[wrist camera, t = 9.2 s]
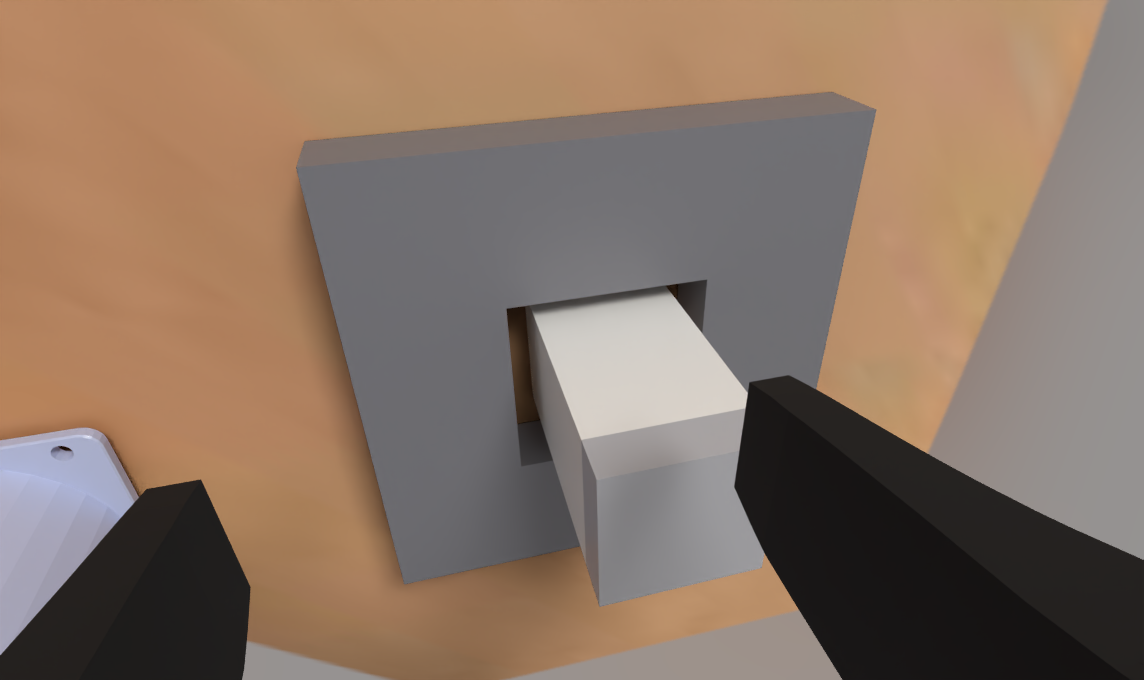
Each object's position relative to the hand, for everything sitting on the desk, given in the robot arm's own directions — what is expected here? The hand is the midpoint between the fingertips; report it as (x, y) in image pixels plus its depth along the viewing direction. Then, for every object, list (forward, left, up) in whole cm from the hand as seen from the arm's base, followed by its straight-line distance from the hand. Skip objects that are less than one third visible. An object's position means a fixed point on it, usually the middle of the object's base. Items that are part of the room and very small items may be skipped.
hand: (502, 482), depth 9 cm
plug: (+4, -5, -10) cm, 12 cm away
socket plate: (+4, -5, -10) cm, 12 cm away
